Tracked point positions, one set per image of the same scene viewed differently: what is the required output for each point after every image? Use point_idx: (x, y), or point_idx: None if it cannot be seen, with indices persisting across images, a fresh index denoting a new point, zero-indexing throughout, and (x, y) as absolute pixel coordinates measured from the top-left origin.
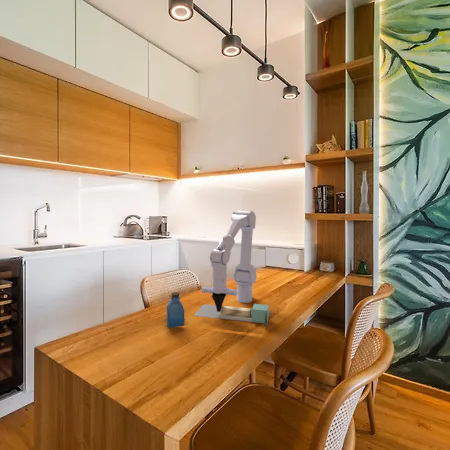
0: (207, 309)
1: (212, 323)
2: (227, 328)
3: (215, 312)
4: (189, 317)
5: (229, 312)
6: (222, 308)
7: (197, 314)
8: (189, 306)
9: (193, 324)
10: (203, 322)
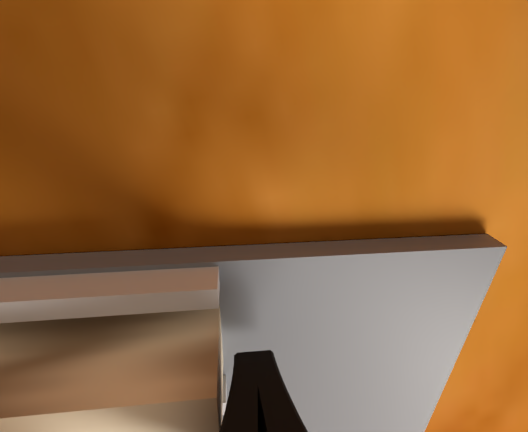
0: (379, 390)
1: (273, 163)
2: (30, 63)
3: (298, 364)
4: (523, 233)
5: (97, 363)
6: (192, 398)
7: (465, 280)
8: (510, 400)
9: (489, 71)
10: (377, 161)
